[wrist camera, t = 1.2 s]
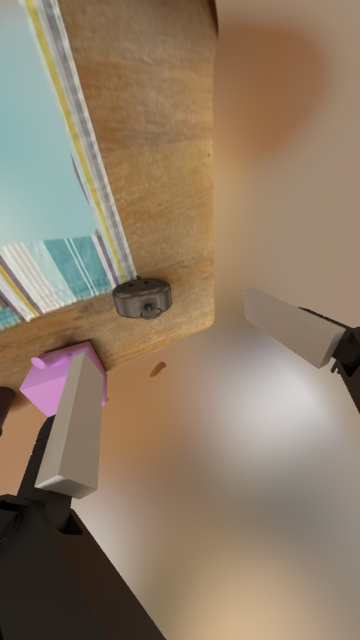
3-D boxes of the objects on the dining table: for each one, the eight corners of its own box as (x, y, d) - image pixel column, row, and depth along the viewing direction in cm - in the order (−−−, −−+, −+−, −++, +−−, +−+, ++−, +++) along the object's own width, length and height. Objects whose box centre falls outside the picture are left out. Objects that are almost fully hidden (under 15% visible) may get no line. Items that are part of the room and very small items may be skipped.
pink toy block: (110, 376, 45) (109, 418, 35) (71, 389, 43) (58, 439, 33) (79, 317, 35) (66, 353, 25) (26, 330, 32) (-14, 376, 22)
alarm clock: (116, 300, 36) (119, 341, 23) (110, 277, 33) (109, 308, 20) (163, 292, 39) (189, 324, 26) (160, 270, 36) (188, 293, 23)
